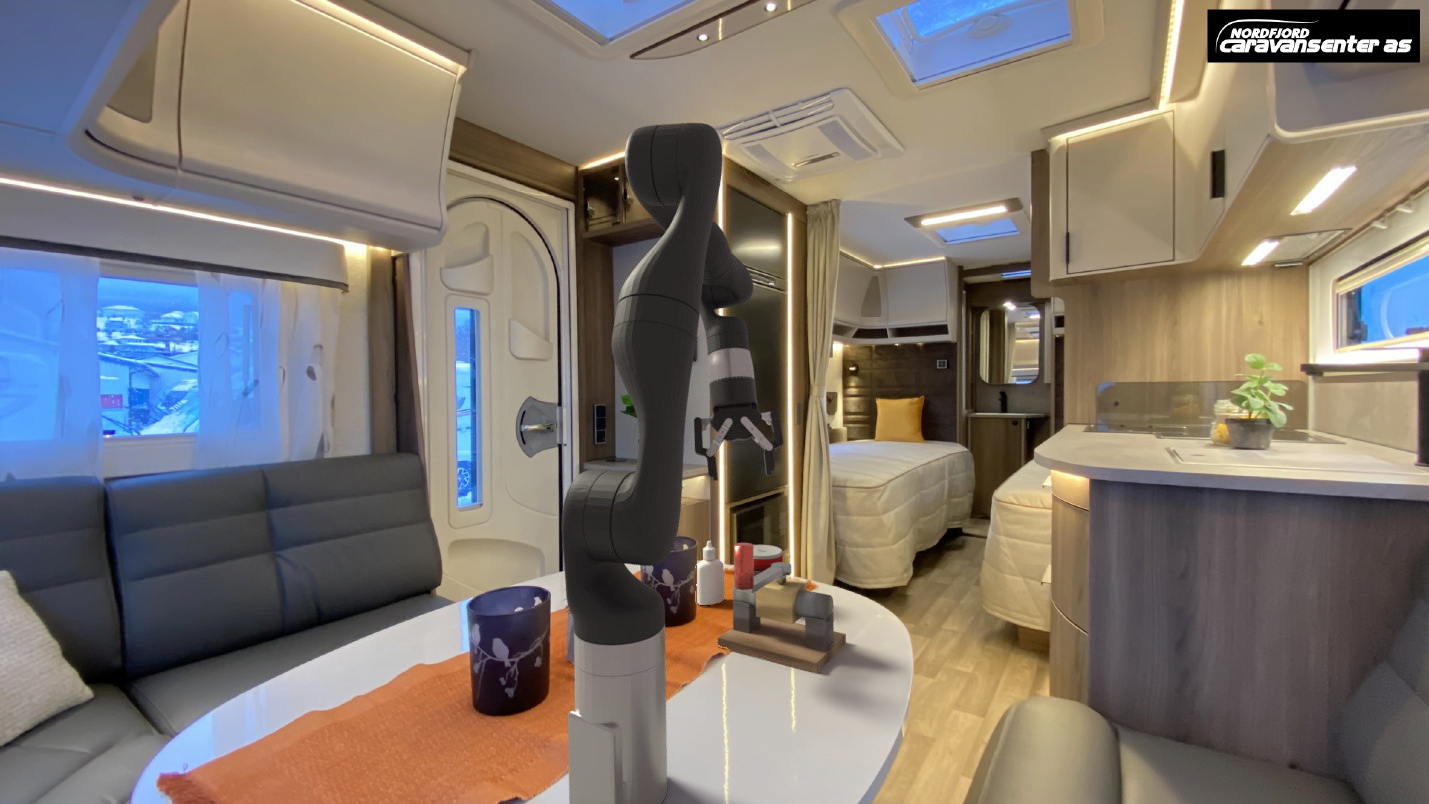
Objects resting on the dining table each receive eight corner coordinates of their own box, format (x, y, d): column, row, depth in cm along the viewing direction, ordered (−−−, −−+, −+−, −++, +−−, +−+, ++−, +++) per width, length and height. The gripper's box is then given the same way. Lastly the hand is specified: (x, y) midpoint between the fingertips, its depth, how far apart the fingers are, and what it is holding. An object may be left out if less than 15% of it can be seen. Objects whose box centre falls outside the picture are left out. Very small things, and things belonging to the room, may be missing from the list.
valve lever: (777, 577, 97) (776, 525, 97) (794, 580, 95) (794, 527, 95) (729, 606, 85) (729, 545, 84) (749, 610, 83) (748, 548, 83)
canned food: (762, 597, 117) (761, 542, 117) (792, 608, 111) (791, 550, 111) (733, 606, 112) (732, 549, 112) (763, 618, 106) (762, 558, 106)
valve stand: (816, 673, 86) (815, 605, 85) (717, 647, 95) (717, 585, 95) (845, 643, 96) (845, 581, 95) (754, 621, 105) (753, 566, 105)
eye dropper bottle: (695, 599, 117) (694, 538, 116) (723, 598, 117) (722, 538, 117) (695, 607, 112) (694, 544, 112) (725, 606, 113) (724, 543, 112)
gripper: (687, 379, 94) (697, 481, 91) (776, 370, 94) (788, 471, 91) (690, 389, 101) (699, 484, 98) (772, 381, 101) (784, 475, 98)
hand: (742, 478), depth 94 cm, fingers open, 8 cm apart
